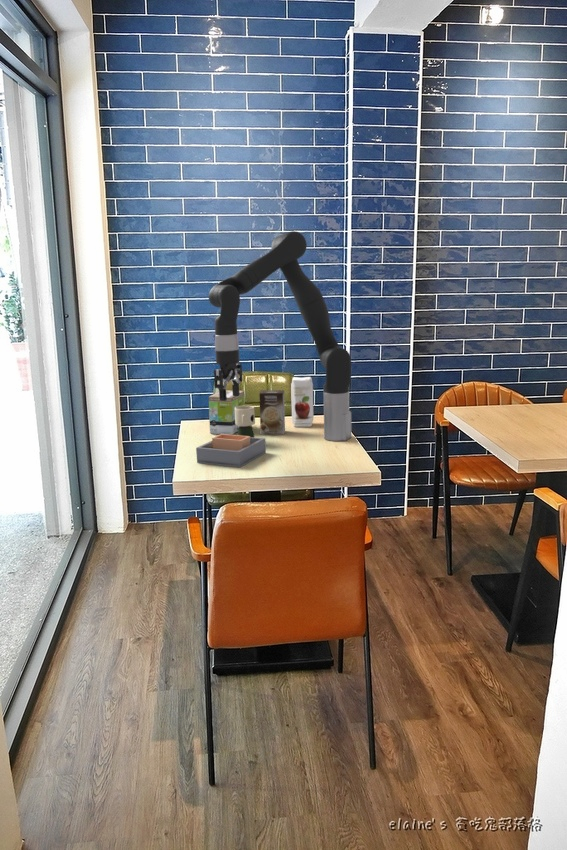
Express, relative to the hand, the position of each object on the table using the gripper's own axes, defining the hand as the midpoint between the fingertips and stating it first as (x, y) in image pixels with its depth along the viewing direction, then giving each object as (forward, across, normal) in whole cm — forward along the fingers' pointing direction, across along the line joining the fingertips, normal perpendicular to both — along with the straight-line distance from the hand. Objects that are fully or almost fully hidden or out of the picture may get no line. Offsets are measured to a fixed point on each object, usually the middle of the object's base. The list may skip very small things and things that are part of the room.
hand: (229, 398), depth 213 cm
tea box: (+20, +34, +21) cm, 45 cm away
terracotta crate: (+19, 0, 0) cm, 19 cm away
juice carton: (+20, +50, -4) cm, 54 cm away
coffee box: (+20, +35, +2) cm, 40 cm away
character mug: (+20, +19, +5) cm, 28 cm away
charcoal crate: (+20, 0, 0) cm, 20 cm away
